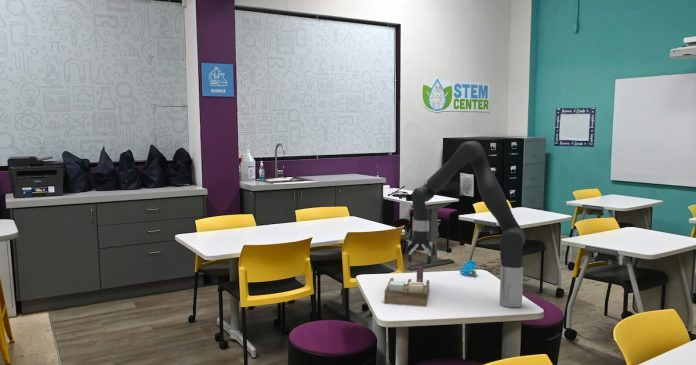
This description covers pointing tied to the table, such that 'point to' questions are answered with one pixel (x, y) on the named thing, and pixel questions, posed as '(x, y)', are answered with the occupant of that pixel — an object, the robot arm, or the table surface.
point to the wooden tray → (407, 295)
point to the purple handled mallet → (419, 284)
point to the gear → (468, 268)
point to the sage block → (396, 286)
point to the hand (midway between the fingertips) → (419, 262)
